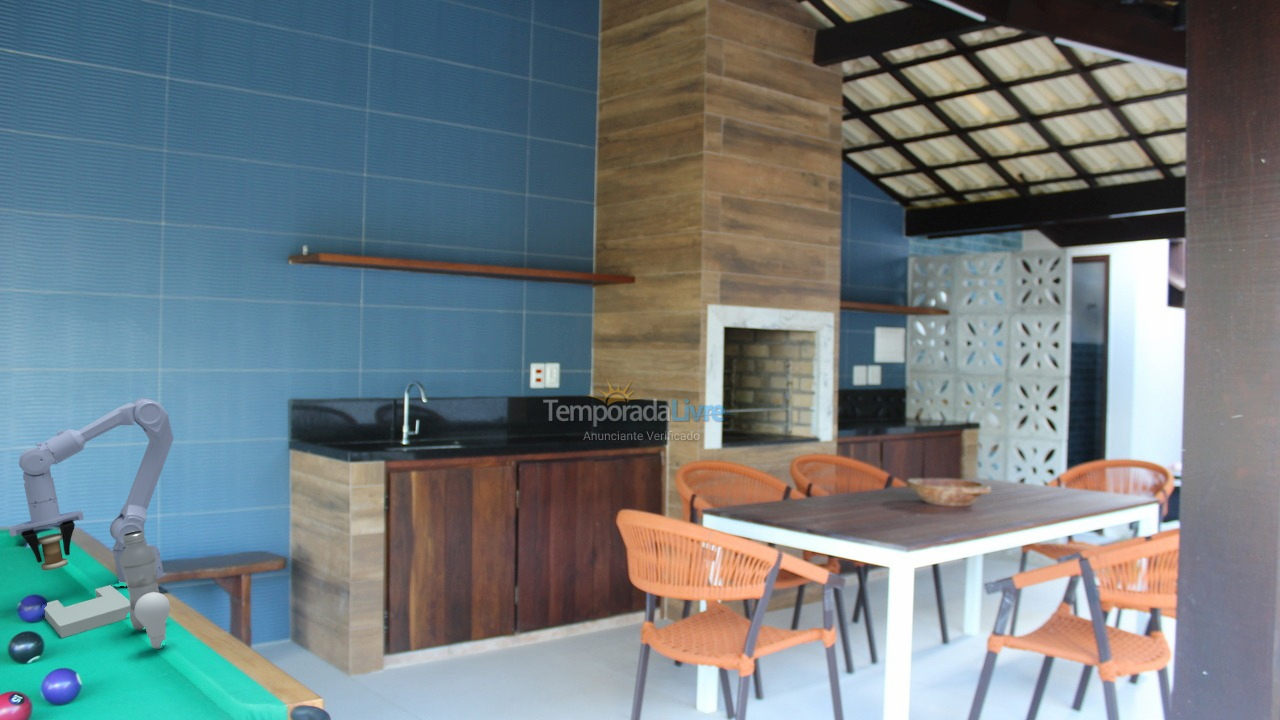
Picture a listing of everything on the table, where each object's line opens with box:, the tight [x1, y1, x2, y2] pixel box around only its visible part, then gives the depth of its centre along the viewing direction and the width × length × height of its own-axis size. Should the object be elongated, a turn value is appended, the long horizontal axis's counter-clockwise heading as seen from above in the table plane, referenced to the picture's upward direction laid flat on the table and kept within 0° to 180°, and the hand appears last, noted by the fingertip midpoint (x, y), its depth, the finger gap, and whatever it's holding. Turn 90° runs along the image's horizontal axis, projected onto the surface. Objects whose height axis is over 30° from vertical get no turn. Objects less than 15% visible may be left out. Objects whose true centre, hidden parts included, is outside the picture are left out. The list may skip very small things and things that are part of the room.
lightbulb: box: [134, 592, 171, 650], centre depth 189 cm, size 6×6×11 cm
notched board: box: [44, 584, 131, 639], centre depth 215 cm, size 22×14×2 cm, turn 40°
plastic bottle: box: [120, 531, 160, 631], centre depth 201 cm, size 6×7×20 cm
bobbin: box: [37, 532, 69, 571], centre depth 226 cm, size 5×5×7 cm
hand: (53, 558), depth 227 cm, fingers closed on bobbin, 5 cm apart
